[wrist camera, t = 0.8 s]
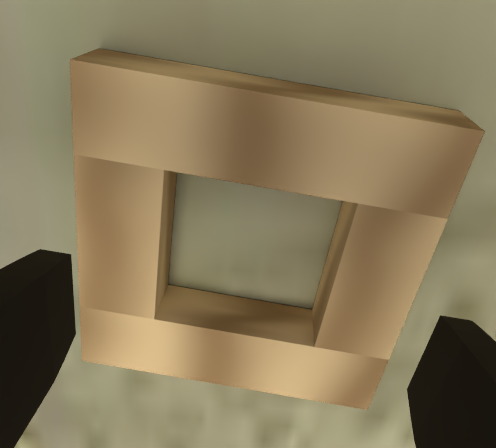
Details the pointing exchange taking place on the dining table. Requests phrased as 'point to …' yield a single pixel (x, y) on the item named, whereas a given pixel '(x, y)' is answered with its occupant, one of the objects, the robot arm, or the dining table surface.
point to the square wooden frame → (264, 175)
